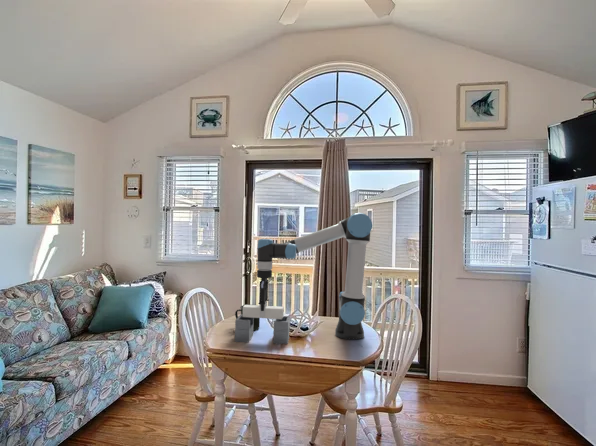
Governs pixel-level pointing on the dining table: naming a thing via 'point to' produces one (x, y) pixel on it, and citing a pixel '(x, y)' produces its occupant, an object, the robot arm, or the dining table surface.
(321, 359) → the dining table surface
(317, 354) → the dining table surface
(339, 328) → the robot arm
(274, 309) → the rail
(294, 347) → the dining table surface
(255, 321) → the mug
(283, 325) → the brackets
